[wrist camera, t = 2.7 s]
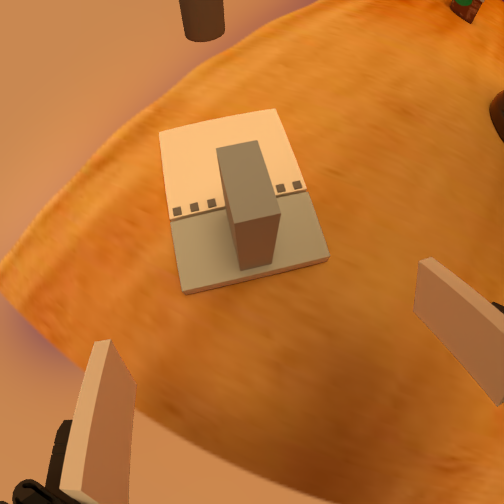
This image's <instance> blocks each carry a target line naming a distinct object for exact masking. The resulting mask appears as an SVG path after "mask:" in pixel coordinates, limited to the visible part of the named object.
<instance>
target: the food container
mask: <svg viewBox="0 0 504 504" xmlns="http://www.w3.org/2000/svg"><path fill="white" fill-rule="evenodd" d="M482 2H483V3H484V0H452V3H451V6H450V8H451V10H452V11H453V12H454V13H455V14H456V15H458V16H459V17H461V18H462V19H463V20H465V21H467V22H468V23H470V24H471V23H472V21H473V19H474V18H475V16H476V14H477V12H478V10H479V8H480V6H481V4H482Z"/></svg>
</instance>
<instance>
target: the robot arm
mask: <svg viewBox="0 0 504 504" xmlns="http://www.w3.org/2000/svg"><path fill="white" fill-rule="evenodd" d="M490 114H491V117H492V120H493V123H494V125H495V127H496V129H497V131H498V133H499V134H500V136H501V138H502V139H503V141H504V90H503V91H501V92H500V93H499V94H497V96H496V97H495V98H494V100H493V101H492V103H491V105H490ZM413 312H414V313H415V314H416V315H417V316H418V317H419V318H420V319H421V320H422V321H423V322H424V323H425V324H426V326H427V327H428V328H429V329H430V330H431V331H432V332H433V333H434V334H435V335H436V336H437V337H438V339H439V340H440V341H441V342H442V343H443V344H444V345H445V346H446V347H447V348H448V350H449V351H450V352H451V353H452V354H453V355H454V356H455V357H456V359H457V360H458V361H459V362H460V363H461V364H462V365H463V367H464V368H465V369H466V370H467V371H468V372H469V373H470V375H471V376H472V377H473V378H474V379H475V380H476V382H477V383H478V384H479V385H480V386H481V388H482V389H483V390H484V391H485V392H486V394H487V395H488V396H489V397H490V398H491V400H492V401H493V402H494V403H495V405H496V406H497V407H498V406H499V405H501V404H502V403H503V402H504V306H502V305H500V304H498V303H495V302H492V303H490V302H489V301H487V300H486V299H485V298H484V297H483V296H481V295H480V294H479V293H478V292H476V291H475V290H474V289H473V288H472V287H470V286H469V285H468V284H467V283H465V282H464V281H463V280H461V279H460V278H459V277H458V276H456V275H455V274H454V273H452V272H451V271H450V270H449V269H447V268H446V267H445V266H443V265H442V264H441V263H439V262H438V261H437V260H435V259H434V258H433V257H429V258H426V259H423V260H420V261H419V263H418V274H417V283H416V292H415V300H414V308H413ZM136 388H137V384H136V382H135V381H134V379H133V377H132V376H131V374H130V372H129V371H128V369H127V367H126V366H125V364H124V362H123V360H122V359H121V357H120V355H119V353H118V351H117V350H116V348H115V346H114V344H113V342H112V340H111V339H108V340H103V341H97V342H94V345H93V349H92V352H91V355H90V358H89V362H88V365H87V368H86V372H85V375H84V379H83V383H82V386H81V390H80V394H79V397H78V401H77V405H76V409H75V413H74V417H73V420H64V421H63V423H62V424H61V426H60V427H59V429H58V430H57V434H56V438H55V442H54V443H55V446H53V450H52V454H53V455H51V460H50V464H49V469H48V474H47V479H46V485H45V487H43V486H42V485H41V484H39V483H38V482H36V481H34V480H32V479H26V480H24V481H22V482H20V483H19V484H18V485H17V486H16V487H15V489H14V491H13V497H12V501H13V504H129V503H128V502H129V474H130V455H131V440H132V428H133V416H134V406H135V397H136ZM0 504H8V503H6V502H4V501H0Z"/></svg>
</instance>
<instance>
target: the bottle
mask: <svg viewBox="0 0 504 504" xmlns="http://www.w3.org/2000/svg"><path fill="white" fill-rule="evenodd" d="M179 3H180V9H181V15H182V21H183V26H184V31H185V36H186V38H187V39H189V40H191V41H194V42H207V41H211V40H214V39H217V38H218V37H221V36H222V35H223V34H224V31H225V22H224V8H223V0H179Z"/></svg>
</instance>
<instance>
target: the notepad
mask: <svg viewBox="0 0 504 504" xmlns="http://www.w3.org/2000/svg"><path fill="white" fill-rule="evenodd" d="M159 139H160V148H161V157H162V165H163V173H164V181H165V189H166V196H167V203H168V210H169V217H170V220H171V222H174V221H178V220H182V219H186V218H190V217H194V216H199V215H203V214H207V213H211V212H216V211H220V210H224V209H226V208H225V202H224V196H223V190H222V184H221V177H220V171H219V165H218V159H217V153H216V148H220V147H224V146H229V145H234V144H239V143H244V142H249V141H255V140H258V143H259V146H260V149H261V152H262V155H263V158H264V161H265V164H266V167H267V170H268V173H269V176H270V179H271V183H272V186H273V189H274V192H275V195H276V198H280V197H284V196H289V195H294V194H299V193H304V192H306V190H307V187H306V185H305V182H304V179H303V177H302V174H301V171H300V169H299V166H298V164H297V161H296V158H295V156H294V153H293V151H292V148H291V146H290V143H289V141H288V138H287V136H286V133H285V131H284V128H283V126H282V123H281V121H280V119H279V116H278V114H277V111H276V109H268V110H262V111H256V112H250V113H244V114H238V115H233V116H228V117H223V118H218V119H213V120H208V121H204V122H199V123H195V124H190V125H186V126H182V127H178V128H174V129H170V130H166V131H162V132H159Z"/></svg>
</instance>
